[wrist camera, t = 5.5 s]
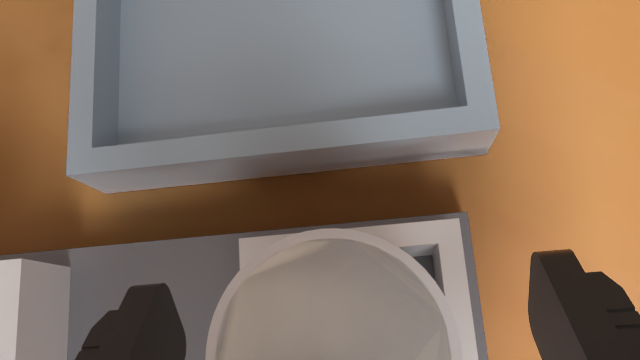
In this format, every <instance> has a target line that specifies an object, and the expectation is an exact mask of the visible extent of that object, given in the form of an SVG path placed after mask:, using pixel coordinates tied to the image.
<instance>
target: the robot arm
mask: <svg viewBox="0 0 640 360" xmlns="http://www.w3.org/2000/svg"><path fill="white" fill-rule="evenodd" d="M528 314H529V322H530V327H531V331H532V334H533V337H534V340H535V342H536V345H537V348H538V350H539V353H540V355H541V358H542V360H640V315H639V313H638V312H637V311H635V307H634V305H633V304H632V302H631V300H630V299H629V297H628V296H627V294H626V293H625V291H624V289H623V288H622V287H621V286H620V285H618V284H617V283H616V282H614V281H613V280H612V279H610V278H609V277H608V276H606V275H605V274H604V273H602V272H589V273H585V272H584V270H583V268H582V266H581V265H580V263H579V261H578V259H577V258H576V256H575V254H574V253H573V251H572V250H570V249H566V250H554V251H542V252H534V253H533V254H532V256H531V266H530V282H529V299H528ZM185 356H186V335H185V331H184V328H183V325H182V322H181V320H180V317H179V314H178V311H177V308H176V306H175V303H174V300H173V297H172V294H171V292H170V289H169V287H168V286H167V284H165V283H157V284H145V285H134V286H131V287H130V288H129V289H128V290H127V292H126V294H125V296H124V298H123V301H122V303H121V305H120V307H119V309H118V310H109V311H108V312H107V313H106V314H105V315H104V316H103V317H102V318H101V319H100V320H99V321H98V322H97V323H96V324H95V325H94V326H93V327H92V328H91V330H90V332H89V334H88V335H87V337H86V339H85V341H84V343H83V345H82V347H81V351H79V353H78V355H77V356H76V358H75V360H185Z"/></svg>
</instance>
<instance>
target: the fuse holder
mask: <svg viewBox="0 0 640 360" xmlns="http://www.w3.org/2000/svg"><path fill="white" fill-rule="evenodd" d="M330 228H339V229H349V230H355V231H360V232H364V233H368V234H371V235H374V236H376V237H379V238H381V239H384V240H386V241H388V242H390V243H391V244H393V245H395V246H397V247H399V248H400V249H402V250H403V251H404V252H406V253H407V254H409V255H410V256H411V257H413V258H414V259H415V260H416V261H417V262H418V263H419V264H420V265H421V266H422V267H423V268H425V270H426V271H427V272H428V273H429V274H430V276H431V277H432V278H433V279H434V280H435V282H436V283H437V285H438V286H439V288H440V289H441V291H442V292H443V294H444V296H445V297H446V299H447V302H448V304H449V306H450V308H451V310H452V312H453V315H454V318H455V321H456V324H457V327H458V331H459V336H460V341H461V346H462V359H463V360H488V354H487V347H486V340H485V333H484V326H483V319H482V311H481V304H480V297H479V290H478V283H477V276H476V269H475V262H474V255H473V248H472V240H471V233H470V226H469V219H468V212H460V213H449V214H438V215H428V216H417V217H406V218H395V219H385V220H374V221H363V222H352V223H342V224H331V225H320V226H309V227H299V228H288V229H277V230H266V231H256V232H245V233H234V234H224V235H213V236H202V237H191V238H181V239H170V240H159V241H148V242H138V243H127V244H116V245H105V246H95V247H84V248H73V249H62V250H52V251H41V252H30V253H20V254H9V255H0V360H75V358H76V356H77V355H78V353H79V351H81V347H82V345H83V343H84V341H85V339H86V337H87V335H88V334H89V332H90V330H91V328H92V327H93V326H94V325H95V324H96V323H97V322H98V321H99V320H100V319H101V318H102V317H103V316H104V315H105V314H106V313H107V312H108V311H109V310H118V309H119V307H120V305H121V303H122V301H123V298H124V296H125V294H126V292H127V290H128V289H129V288H130V287H131V286H134V285H145V284H157V283H165V284H167V286H168V287H169V289H170V292H171V294H172V297H173V300H174V303H175V306H176V308H177V311H178V314H179V317H180V320H181V322H182V325H183V328H184V331H185V335H186V356H185V360H205V358H206V344H207V338H208V332H209V328H210V325H211V321H212V318H213V314H214V312H215V310H216V307H217V305H218V303H219V300H220V298H221V297H222V295H223V293H224V292H225V290H226V288H227V286H228V285H229V283H230V282H231V281H232V279H233V278H234V277H235V276H236V274H237V273H238V272H239V271H240V270H241V269H242V268H243V267H244V266H245V265H246V263H247V262H248V261H249V260H251V259H252V258H253V257H254V256H256V255H257V254H258V253H259V252H261V251H262V250H264V249H265V248H267V247H269V246H270V245H272V244H274V243H275V242H277V241H279V240H282V239H284V238H286V237H289V236H291V235H294V234H298V233H301V232H305V231H310V230H316V229H330Z"/></svg>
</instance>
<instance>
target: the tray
mask: <svg viewBox="0 0 640 360" xmlns="http://www.w3.org/2000/svg"><path fill="white" fill-rule="evenodd" d="M499 130H500V124H499V118H498V111H497V105H496V99H495V93H494V87H493V81H492V74H491V68H490V62H489V56H488V50H487V44H486V37H485V31H484V25H483V19H482V13H481V7H480V0H74V9H73V32H72V54H71V76H70V98H69V120H68V142H67V164H66V176H68V177H70V178H72V179H75V180H77V181H79V182H81V183H83V184H86V185H88V186H90V187H92V188H94V189H97V190H99V191H101V192H103V193H105V194H108V193H118V192H128V191H137V190H147V189H157V188H166V187H176V186H186V185H196V184H205V183H215V182H225V181H234V180H244V179H254V178H263V177H273V176H283V175H293V174H302V173H312V172H322V171H331V170H341V169H351V168H361V167H370V166H380V165H390V164H399V163H409V162H419V161H428V160H438V159H448V158H458V157H467V156H477V155H486V154H487V153H488V151H489V149H490V147H491V145H492V143H493V142H494V140H495V138H496V136H497V134H498V132H499Z"/></svg>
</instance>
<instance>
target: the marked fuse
mask: <svg viewBox="0 0 640 360" xmlns="http://www.w3.org/2000/svg"><path fill="white" fill-rule="evenodd" d="M205 360H463V359H462V346H461V341H460V336H459V331H458V327H457V324H456V321H455V318H454V315H453V312H452V310H451V308H450V306H449V304H448V302H447V299H446V297H445V296H444V294H443V292H442V291H441V289H440V288H439V286H438V285H437V283H436V282H435V280H434V279H433V278H432V277H431V276H430V274H429V273H428V272H427V271H426V270H425V268H423V267H422V266H421V265H420V264H419V263H418V262H417V261H416V260H415V259H414V258H413V257H411V256H410V255H409V254H407V253H406V252H404V251H403V250H402V249H400V248H399V247H397V246H395V245H393V244H391V243H390V242H388V241H386V240H384V239H381V238H379V237H376V236H374V235H371V234H368V233H364V232H360V231H355V230H349V229H339V228H330V229H316V230H310V231H305V232H301V233H298V234H294V235H291V236H289V237H286V238H284V239H282V240H279V241H277V242H275V243H274V244H272V245H270V246H269V247H267V248H265V249H264V250H262V251H261V252H259V253H258V254H257V255H256V256H254V257H253V258H252V259H251V260H249V261H248V262H247V263H246V265H245V266H244V267H243V268H242V269H241V270H240V271H239V272H238V273H237V274H236V276H235V277H234V278H233V279H232V281H231V282H230V283H229V285H228V286H227V288H226V290H225V292H224V293H223V295H222V297H221V298H220V300H219V303H218V305H217V307H216V310H215V312H214V314H213V318H212V321H211V325H210V328H209V332H208V338H207V344H206V358H205Z"/></svg>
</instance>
